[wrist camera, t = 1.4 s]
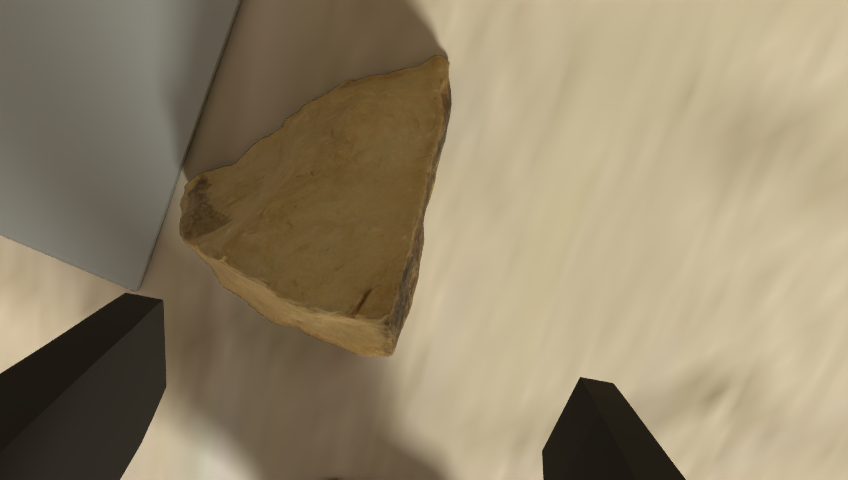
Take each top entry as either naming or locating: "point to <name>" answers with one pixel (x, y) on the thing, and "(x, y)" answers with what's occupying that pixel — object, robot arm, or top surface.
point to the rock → (330, 209)
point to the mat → (101, 122)
